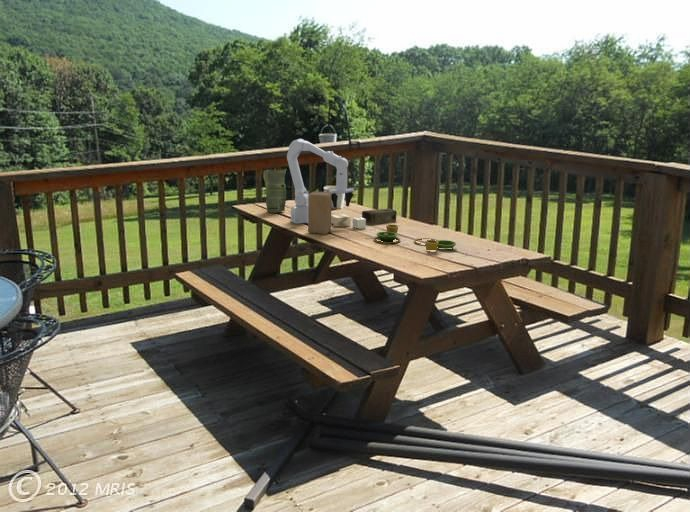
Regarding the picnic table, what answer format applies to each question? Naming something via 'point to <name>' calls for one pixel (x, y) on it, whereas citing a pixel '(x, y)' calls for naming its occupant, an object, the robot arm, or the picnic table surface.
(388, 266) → the picnic table surface
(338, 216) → the plain block
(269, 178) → the green vase
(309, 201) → the block
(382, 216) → the beverage carton
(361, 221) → the numbered cube seven
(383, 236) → the tableware set
